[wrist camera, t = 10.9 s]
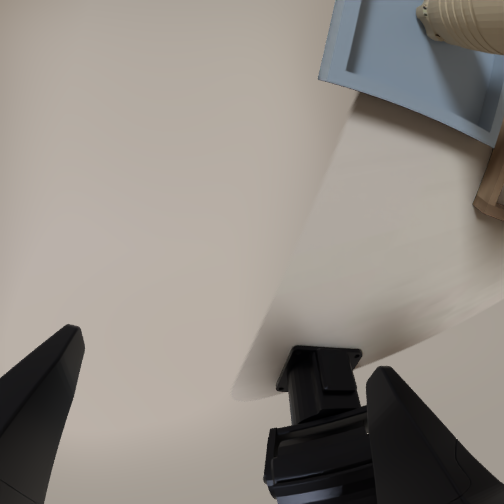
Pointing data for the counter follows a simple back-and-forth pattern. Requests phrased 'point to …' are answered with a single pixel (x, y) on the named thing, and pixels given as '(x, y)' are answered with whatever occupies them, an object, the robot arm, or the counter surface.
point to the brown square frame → (493, 181)
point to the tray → (413, 66)
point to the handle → (465, 23)
